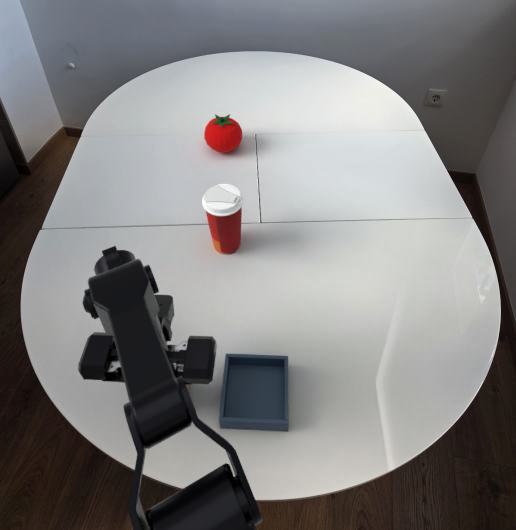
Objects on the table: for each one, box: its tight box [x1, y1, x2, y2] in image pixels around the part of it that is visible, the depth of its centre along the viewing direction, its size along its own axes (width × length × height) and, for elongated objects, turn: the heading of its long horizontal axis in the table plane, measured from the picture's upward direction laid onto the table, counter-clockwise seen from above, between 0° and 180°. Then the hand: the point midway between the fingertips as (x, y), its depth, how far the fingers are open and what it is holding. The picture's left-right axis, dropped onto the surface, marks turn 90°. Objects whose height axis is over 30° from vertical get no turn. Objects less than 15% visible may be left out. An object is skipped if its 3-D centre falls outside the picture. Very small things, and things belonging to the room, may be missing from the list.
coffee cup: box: [201, 183, 244, 255], centre depth 90 cm, size 8×8×15 cm
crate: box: [218, 352, 289, 432], centre depth 71 cm, size 11×11×4 cm
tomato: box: [203, 114, 243, 154], centre depth 117 cm, size 10×10×10 cm
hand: (159, 381), depth 67 cm, fingers closed on can, 6 cm apart
